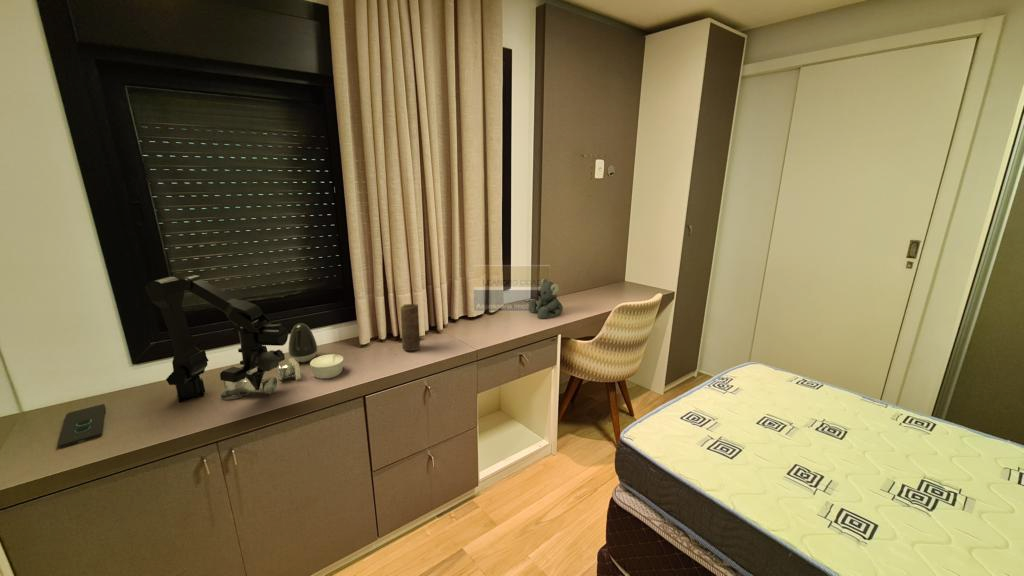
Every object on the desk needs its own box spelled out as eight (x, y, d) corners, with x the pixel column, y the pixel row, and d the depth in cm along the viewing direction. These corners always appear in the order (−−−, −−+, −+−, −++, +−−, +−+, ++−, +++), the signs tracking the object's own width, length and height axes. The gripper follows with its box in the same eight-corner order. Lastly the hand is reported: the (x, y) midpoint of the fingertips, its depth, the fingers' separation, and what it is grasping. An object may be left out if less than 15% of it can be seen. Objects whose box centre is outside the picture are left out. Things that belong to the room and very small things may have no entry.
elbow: (221, 396, 127) (218, 378, 125) (233, 388, 132) (229, 371, 130) (268, 396, 127) (266, 379, 126) (278, 388, 132) (275, 371, 131)
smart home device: (56, 445, 101) (65, 412, 115) (58, 451, 101) (67, 418, 115) (101, 432, 107) (105, 402, 121) (103, 437, 107) (106, 407, 121)
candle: (415, 353, 163) (413, 308, 158) (399, 352, 164) (396, 307, 159) (423, 346, 170) (421, 303, 165) (407, 345, 171) (405, 301, 166)
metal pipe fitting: (223, 402, 124) (220, 385, 123) (219, 393, 130) (215, 376, 128) (301, 379, 140) (299, 364, 138) (294, 372, 145) (292, 357, 144)
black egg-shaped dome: (286, 366, 149) (281, 329, 145) (293, 355, 159) (288, 320, 155) (315, 364, 152) (311, 327, 148) (320, 353, 162) (316, 318, 158)
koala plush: (526, 310, 222) (527, 277, 217) (553, 307, 229) (555, 275, 224) (540, 320, 207) (541, 284, 202) (569, 316, 214) (571, 282, 209)
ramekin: (350, 371, 147) (349, 358, 145) (323, 383, 137) (321, 370, 136) (333, 364, 152) (332, 351, 151) (305, 374, 143) (303, 361, 142)
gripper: (245, 358, 112) (252, 407, 116) (295, 337, 130) (300, 380, 133) (215, 354, 115) (222, 402, 118) (268, 334, 133) (273, 376, 136)
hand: (257, 389), depth 126 cm, fingers closed
